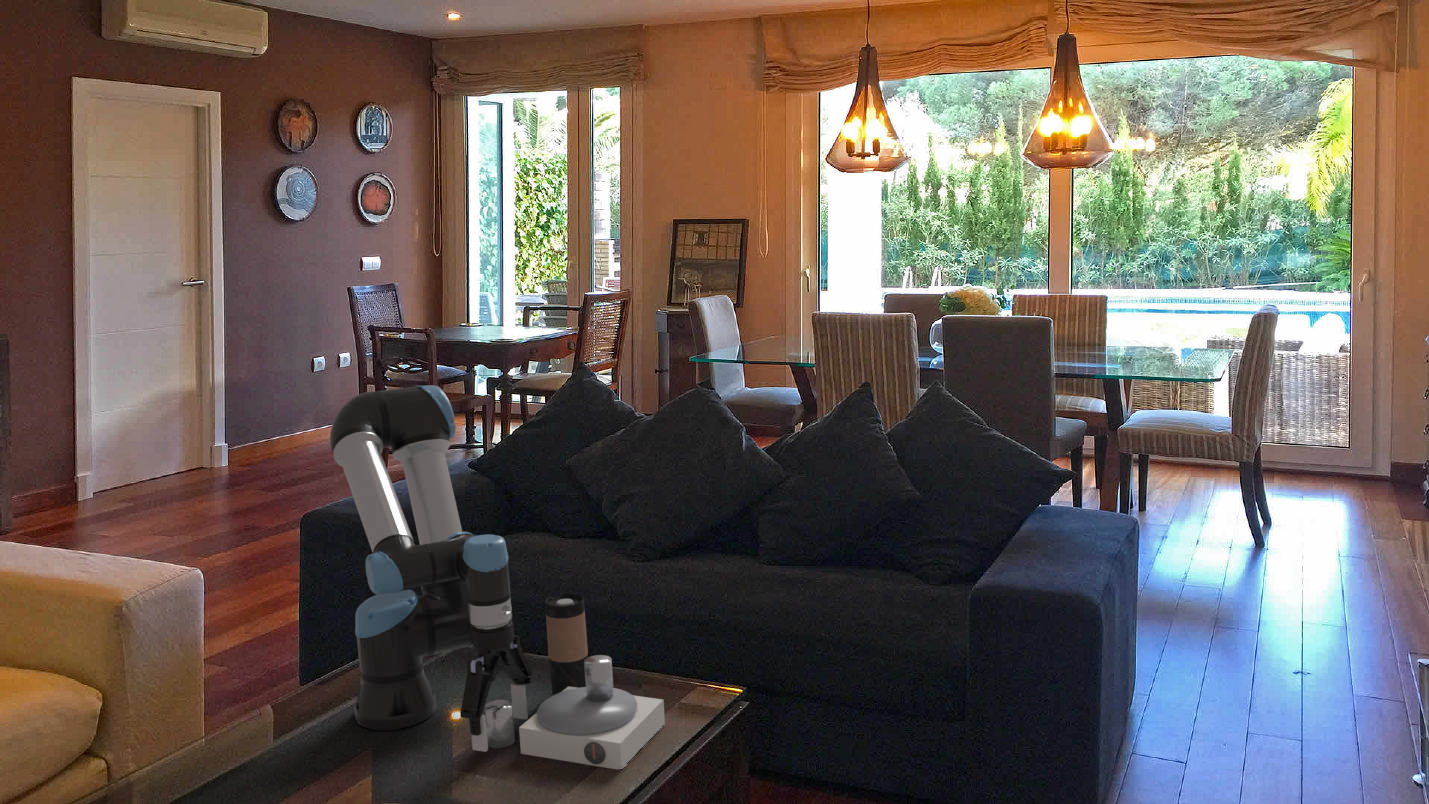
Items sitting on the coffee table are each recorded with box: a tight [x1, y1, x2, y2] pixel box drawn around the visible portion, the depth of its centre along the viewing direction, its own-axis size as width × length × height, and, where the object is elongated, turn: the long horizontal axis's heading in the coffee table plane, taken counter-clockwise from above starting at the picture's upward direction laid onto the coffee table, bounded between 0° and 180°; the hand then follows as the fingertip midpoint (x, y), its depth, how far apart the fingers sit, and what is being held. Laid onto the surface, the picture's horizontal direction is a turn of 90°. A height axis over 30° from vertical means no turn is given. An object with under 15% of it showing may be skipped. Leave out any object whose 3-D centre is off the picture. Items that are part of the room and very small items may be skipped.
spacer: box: [483, 699, 516, 749], centre depth 220 cm, size 5×5×7 cm
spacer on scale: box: [584, 654, 614, 702], centre depth 223 cm, size 5×5×7 cm
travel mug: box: [544, 592, 589, 696], centre depth 237 cm, size 8×8×20 cm
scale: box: [518, 686, 666, 771], centre depth 219 cm, size 20×18×6 cm
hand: (501, 733), depth 220 cm, fingers open, 13 cm apart
